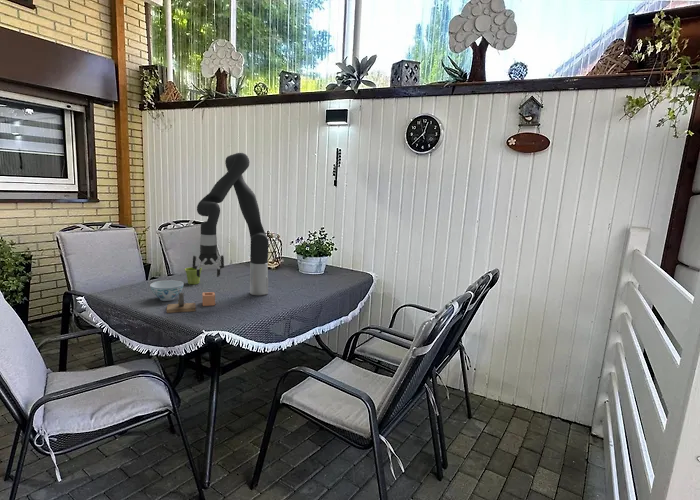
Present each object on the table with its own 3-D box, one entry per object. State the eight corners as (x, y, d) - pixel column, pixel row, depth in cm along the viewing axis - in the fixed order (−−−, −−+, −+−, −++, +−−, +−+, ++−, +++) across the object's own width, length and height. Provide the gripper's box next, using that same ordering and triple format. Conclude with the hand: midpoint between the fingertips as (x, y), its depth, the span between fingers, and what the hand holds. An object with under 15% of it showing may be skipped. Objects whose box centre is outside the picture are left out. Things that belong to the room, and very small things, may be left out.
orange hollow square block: (214, 301, 191) (214, 292, 190) (215, 305, 186) (215, 295, 185) (202, 302, 189) (202, 292, 188) (202, 305, 184) (202, 295, 183)
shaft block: (195, 305, 183) (195, 290, 182) (195, 311, 176) (195, 295, 175) (167, 307, 179) (167, 291, 178) (166, 312, 172) (166, 296, 170)
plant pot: (190, 286, 216) (190, 271, 214) (181, 283, 221) (181, 268, 220) (205, 283, 223) (205, 269, 222) (196, 280, 229) (196, 266, 227)
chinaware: (174, 293, 202) (174, 278, 201) (189, 299, 192) (189, 284, 191) (145, 298, 190) (144, 283, 189) (159, 305, 181) (158, 289, 180)
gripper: (223, 242, 189) (223, 274, 191) (192, 242, 184) (192, 275, 186) (224, 244, 182) (224, 278, 185) (192, 244, 177) (192, 279, 179)
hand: (208, 276), depth 185 cm, fingers open, 8 cm apart
